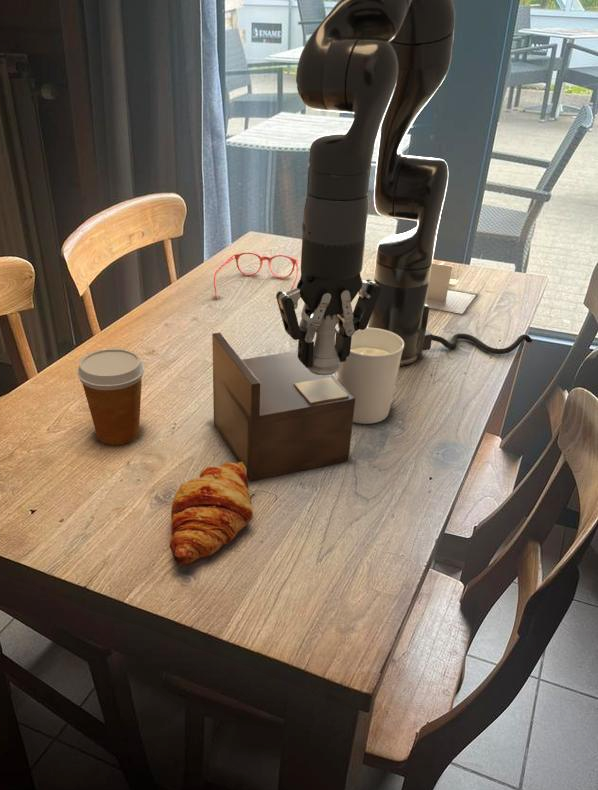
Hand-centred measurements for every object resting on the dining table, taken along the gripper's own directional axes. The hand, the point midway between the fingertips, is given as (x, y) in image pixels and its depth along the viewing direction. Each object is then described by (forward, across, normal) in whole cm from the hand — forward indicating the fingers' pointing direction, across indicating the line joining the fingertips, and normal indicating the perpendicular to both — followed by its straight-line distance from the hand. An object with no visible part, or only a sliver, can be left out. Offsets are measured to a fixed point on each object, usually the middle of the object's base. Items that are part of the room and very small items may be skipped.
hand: (323, 361), depth 96 cm
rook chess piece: (+1, 0, 0) cm, 1 cm away
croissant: (+15, -19, -10) cm, 26 cm away
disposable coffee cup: (+15, -26, +14) cm, 33 cm away
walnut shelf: (+15, -4, +4) cm, 16 cm away
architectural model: (+15, +48, +45) cm, 68 cm away
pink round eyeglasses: (+15, +15, +62) cm, 66 cm away
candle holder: (+15, +12, +8) cm, 21 cm away
